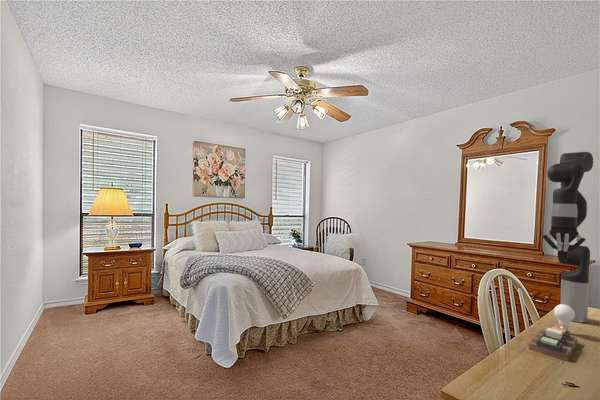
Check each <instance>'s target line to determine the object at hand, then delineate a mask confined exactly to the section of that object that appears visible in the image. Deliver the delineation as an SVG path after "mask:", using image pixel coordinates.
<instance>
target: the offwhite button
mask: <svg viewBox="0 0 600 400" xmlns="http://www.w3.org/2000/svg"><path fill="white" fill-rule="evenodd" d="M549 327H550V326H549ZM549 327H547V328H545V330H546V336H549V337H552V338H556V339H560V340H561V338H562V337H563V331H560V330H556V329H553V328H549Z"/></svg>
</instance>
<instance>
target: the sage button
mask: <svg viewBox="0 0 600 400" xmlns="http://www.w3.org/2000/svg"><path fill="white" fill-rule="evenodd" d="M541 342H543V343H546V344H550V345H553V346H556V347H557V346H558V341H557V340H554V339H550V338H547V337H542V339H541Z"/></svg>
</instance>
